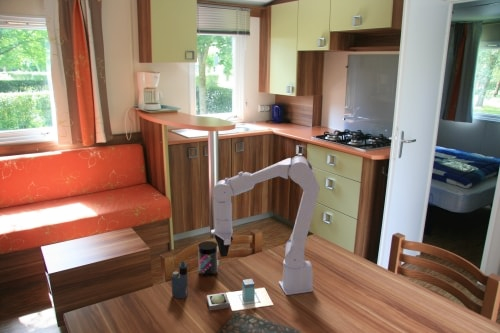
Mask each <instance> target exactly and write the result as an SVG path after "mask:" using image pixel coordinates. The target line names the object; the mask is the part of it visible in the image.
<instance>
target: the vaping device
mask: <svg viewBox="0 0 500 333" xmlns="http://www.w3.org/2000/svg"><path fill="white" fill-rule="evenodd" d="M178 269H179V270H178V271H177V270H176V271H173V272H172V275H171V277H170V278H171V280H170V281H171V295H172V297H173V298H176V299H177V298H178V299H186V298H187V297H188V296H189V295H188V293H189V292H188V280H189V278H188V264H187V263H185V261H181V263H180V264H179V266H178Z"/></svg>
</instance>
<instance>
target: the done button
mask: <svg viewBox="0 0 500 333" xmlns="http://www.w3.org/2000/svg"><path fill="white" fill-rule="evenodd" d="M219 303H225V300H224V296H223V295H214V296H212V298H211V304H219Z"/></svg>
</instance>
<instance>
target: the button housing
mask: <svg viewBox="0 0 500 333" xmlns="http://www.w3.org/2000/svg"><path fill="white" fill-rule="evenodd" d="M226 293H227V292H219V293H214V294H207V295H206V301H207V305H208V308H209V311H215V310H223V309H228V308H229V309H230V303H229V301H228V298H227V295H226ZM214 295H223V296H224V303H219V304H212V303H211V298H212V296H214Z"/></svg>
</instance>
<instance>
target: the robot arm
mask: <svg viewBox="0 0 500 333" xmlns="http://www.w3.org/2000/svg"><path fill="white" fill-rule="evenodd" d="M277 177H281V178H283V179H285V180H288V179H289V178H290V179H291V180H292V181H293V182H294V183H295V184H298V185H299V186H300V188H301V190H303V192H302V195H301V199H300V202H299V207H298V209H297V213H296V214H297V215H296V218H295V223H294V226H293V229H292V232H291V234H290V237H289V239H288V241H287V242H285V246H284V248H285V249H284V250H285V252H284V254H285V256H284V259H283V262H282V263H283V264H282V280H279V281H278V285H279V286H280V287H281V289H282V290H283V293H285V294H284V295H287V296H290V295H296V294H304V293H311V292H314V289H313V284H314V283H313V281H314V269H313V265H312V263H311V261H310V260H306V259H305V257H306V256H305V251H306V243H307V237H308V233H309V231H310V226H311V222H312V219H313V216H314V211H315V208H316V205H317V201H318V200H317V199H318V196H319V192H320V183H319V181H318V179H317V177H316V173H315V171H314V168H313V165H312V164H311V162H310V161H309V160H308V159H307V157H305V156H303V155H296V156H294V157H292V158H291V157H288V158H286V159H283V160H281V161H278V162H276V163H274V164H272V165H269V166H267V167H265V168H262V169H261V170H258V171H255V172H253V173H251V172H247V171H245V172H244V171H240V172H238V173H237V175H234V176H232V177H225V178H224V179H221V180H219V181H218V182H216V183H215V186H214V187H213V189H212V197H213V201H214V203H213V216H214V218H213V220H214V223H213V224H214V229H211V230H210V234H211V235H213V236H214V238H215V242H216V243H217V249H218V251H219V255H220V257H221V258H223V257H224V258H225V257H228V254H229V250H230V245H231V243H232V242H233V239H234V237H233V203H232V197H235V196H238V195H240V194H243V193H245V192H248V191H251V190H253V189H254V187H255V185H256V184H258V183H261V182H265V181H267V180H270V179H273V178H277Z"/></svg>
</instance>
